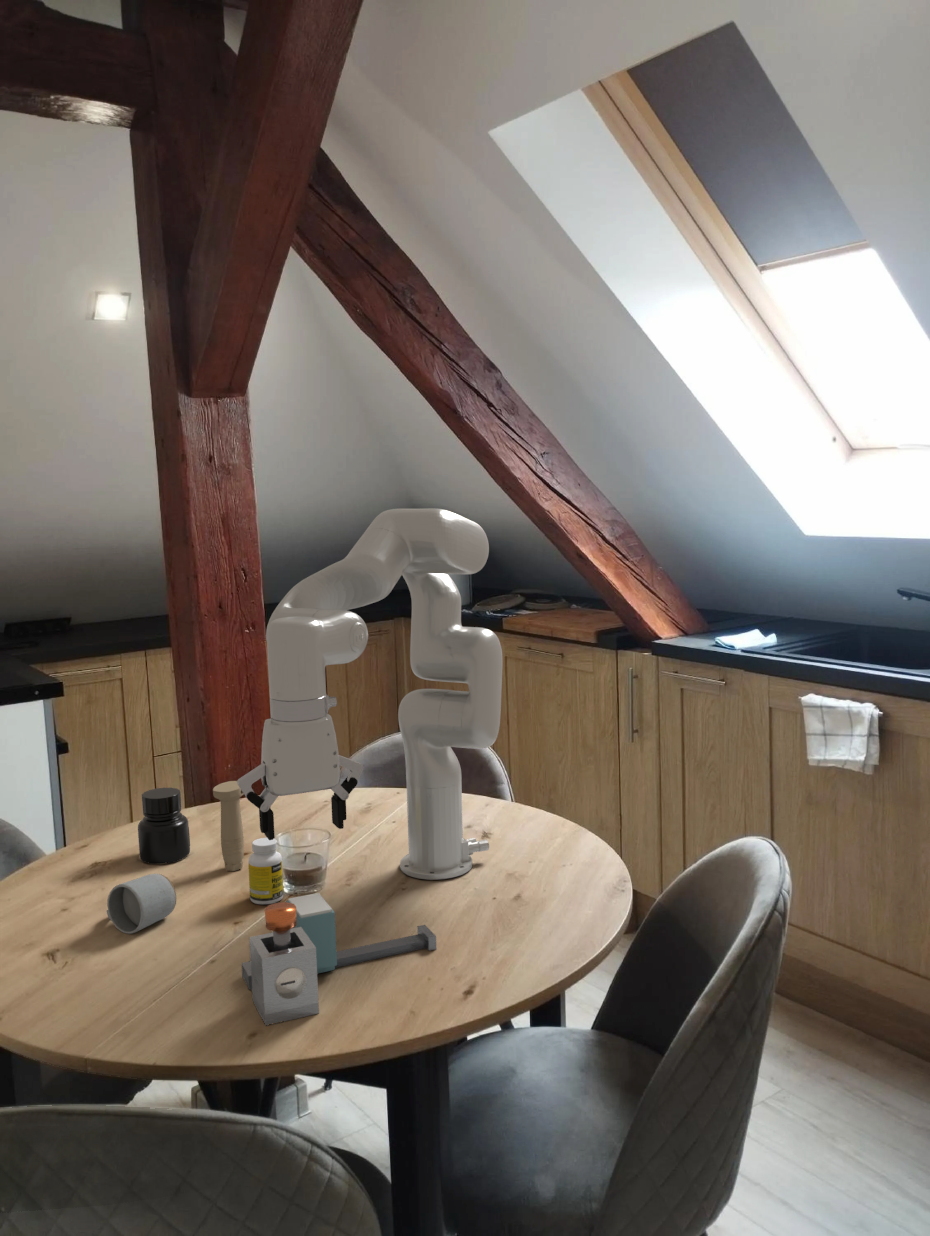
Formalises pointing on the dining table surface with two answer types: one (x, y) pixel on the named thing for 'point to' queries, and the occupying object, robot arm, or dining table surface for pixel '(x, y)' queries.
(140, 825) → the ink bottle
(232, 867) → the handle
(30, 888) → the dining table surface
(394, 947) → the rail
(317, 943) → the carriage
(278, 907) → the plunger
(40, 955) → the dining table surface
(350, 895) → the dining table surface
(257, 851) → the supplement bottle
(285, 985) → the grey button box
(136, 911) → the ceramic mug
